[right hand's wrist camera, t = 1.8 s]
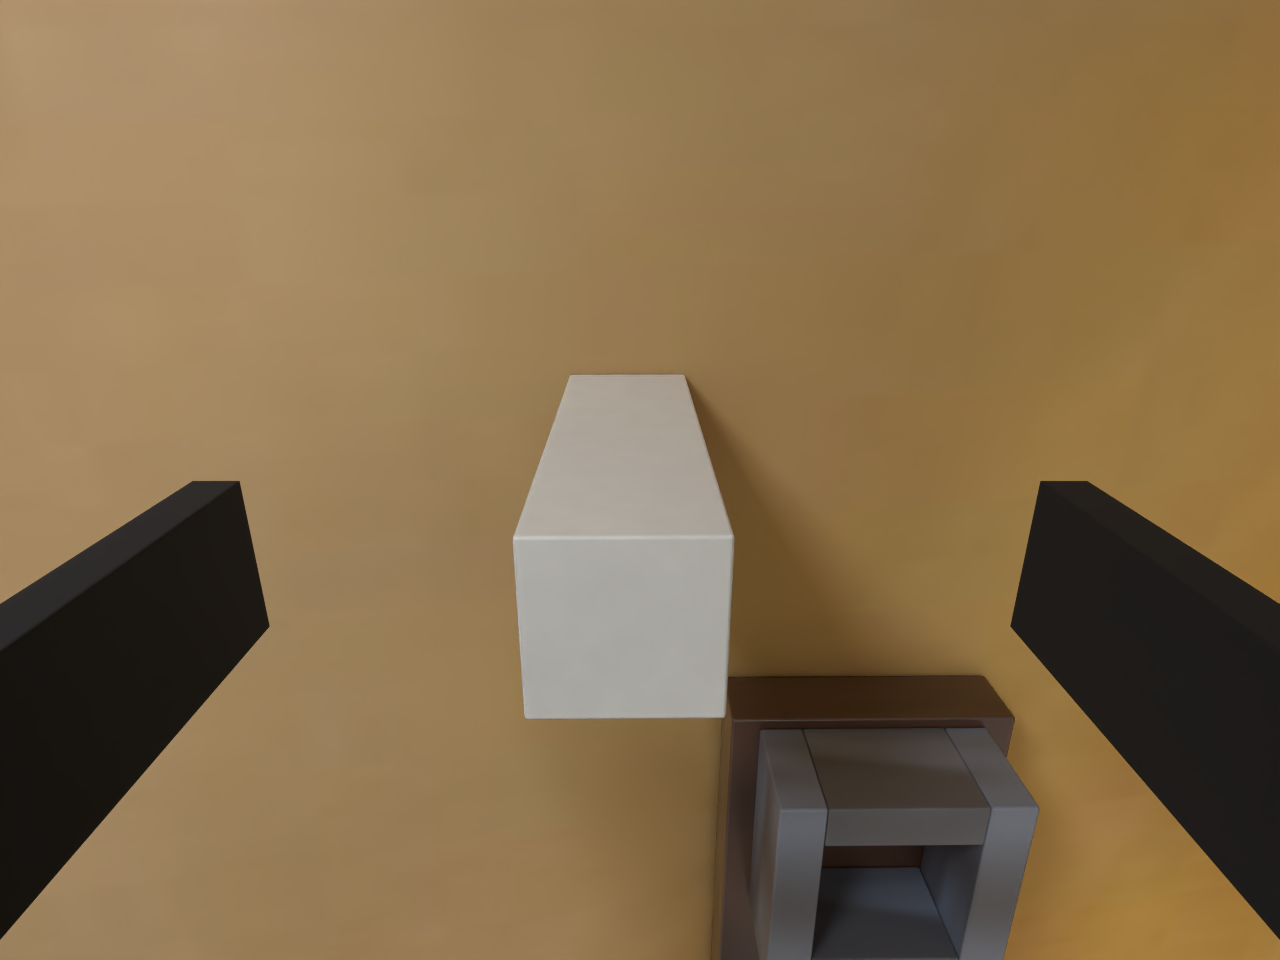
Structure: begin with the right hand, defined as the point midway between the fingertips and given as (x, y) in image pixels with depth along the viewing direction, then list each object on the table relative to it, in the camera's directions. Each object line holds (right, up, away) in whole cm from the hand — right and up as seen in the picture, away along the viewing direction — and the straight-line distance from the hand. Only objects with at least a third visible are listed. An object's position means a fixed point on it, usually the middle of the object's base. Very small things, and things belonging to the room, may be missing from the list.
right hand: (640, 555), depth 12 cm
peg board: (+7, -22, +17) cm, 29 cm away
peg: (0, +3, +7) cm, 8 cm away
